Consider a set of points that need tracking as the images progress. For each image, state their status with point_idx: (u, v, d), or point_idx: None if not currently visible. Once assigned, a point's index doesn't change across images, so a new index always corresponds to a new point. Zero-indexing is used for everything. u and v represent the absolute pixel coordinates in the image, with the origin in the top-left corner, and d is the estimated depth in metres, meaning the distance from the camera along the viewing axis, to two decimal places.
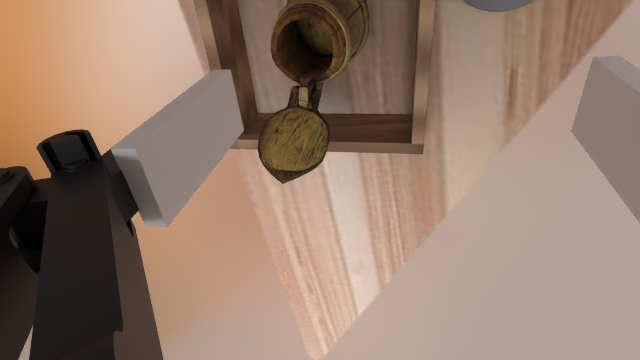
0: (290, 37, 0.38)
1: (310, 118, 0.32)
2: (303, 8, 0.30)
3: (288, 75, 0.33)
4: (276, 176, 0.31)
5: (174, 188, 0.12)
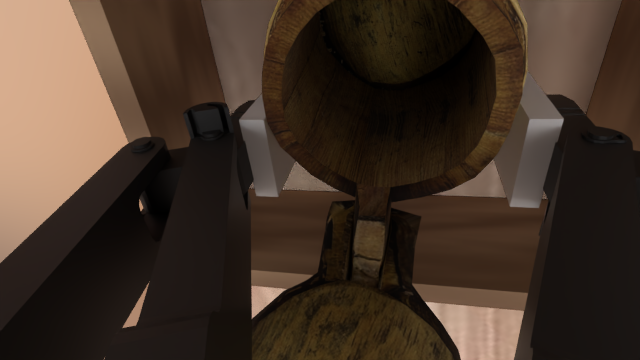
0: (314, 49, 0.15)
1: (396, 325, 0.10)
2: None
3: (319, 175, 0.10)
4: None
5: (282, 161, 0.13)
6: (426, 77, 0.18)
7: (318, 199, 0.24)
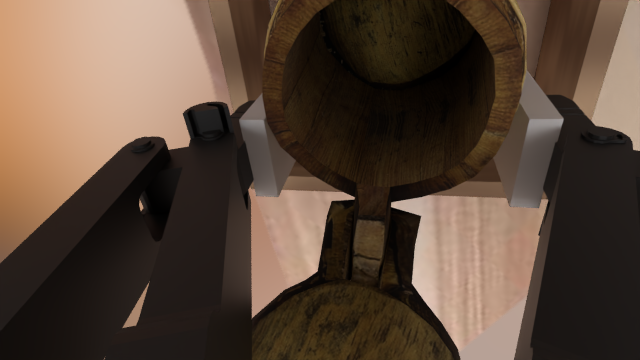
0: (314, 49, 0.15)
1: (396, 324, 0.10)
2: None
3: (319, 174, 0.10)
4: None
5: (282, 161, 0.13)
6: (426, 77, 0.18)
7: None
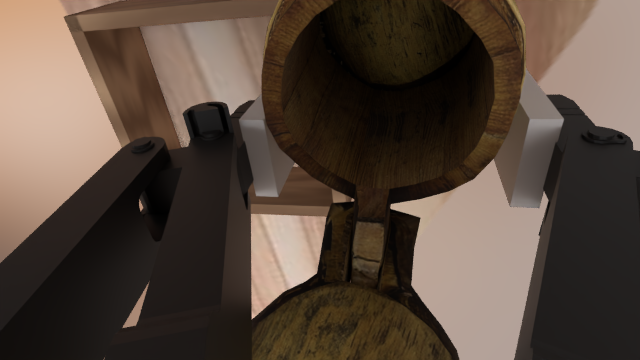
0: (314, 50, 0.15)
1: (395, 326, 0.10)
2: None
3: (318, 176, 0.10)
4: None
5: (282, 161, 0.13)
6: (425, 78, 0.18)
7: None
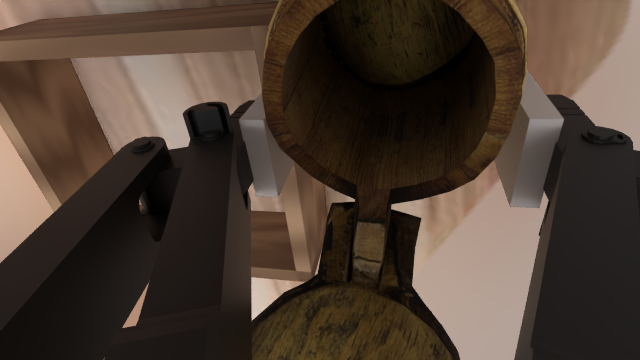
0: (314, 50, 0.15)
1: (396, 327, 0.10)
2: None
3: (319, 176, 0.10)
4: None
5: (282, 161, 0.13)
6: (426, 78, 0.18)
7: None
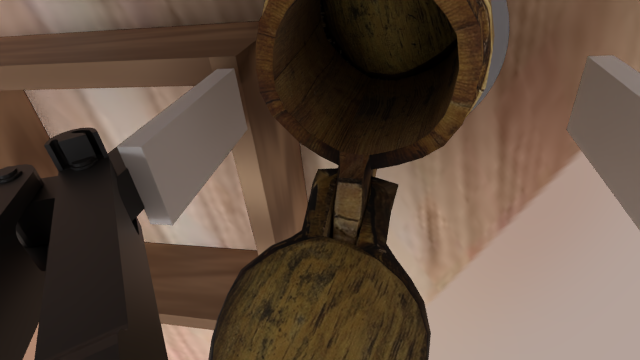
0: (312, 37, 0.16)
1: (369, 277, 0.11)
2: None
3: (306, 142, 0.12)
4: None
5: (179, 186, 0.12)
6: (419, 68, 0.19)
7: (147, 249, 0.34)
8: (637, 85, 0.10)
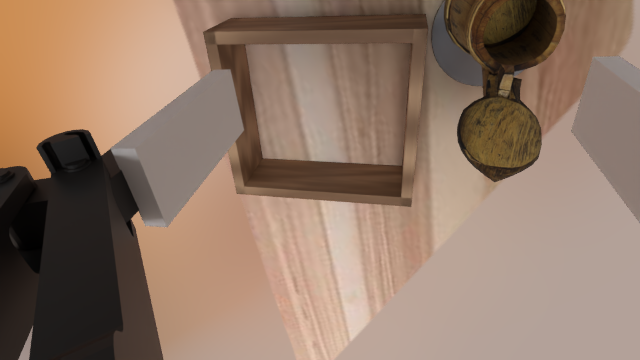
0: None
1: (516, 109, 0.29)
2: None
3: (487, 61, 0.29)
4: (486, 173, 0.27)
5: (174, 188, 0.12)
6: (504, 41, 0.37)
7: (296, 163, 0.51)
8: None
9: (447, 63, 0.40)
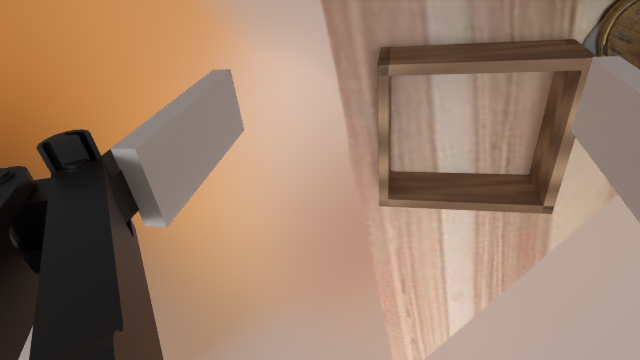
0: None
1: None
2: None
3: None
4: None
5: (174, 188, 0.12)
6: None
7: (426, 175, 0.55)
8: None
9: None
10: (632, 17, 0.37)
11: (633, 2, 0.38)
